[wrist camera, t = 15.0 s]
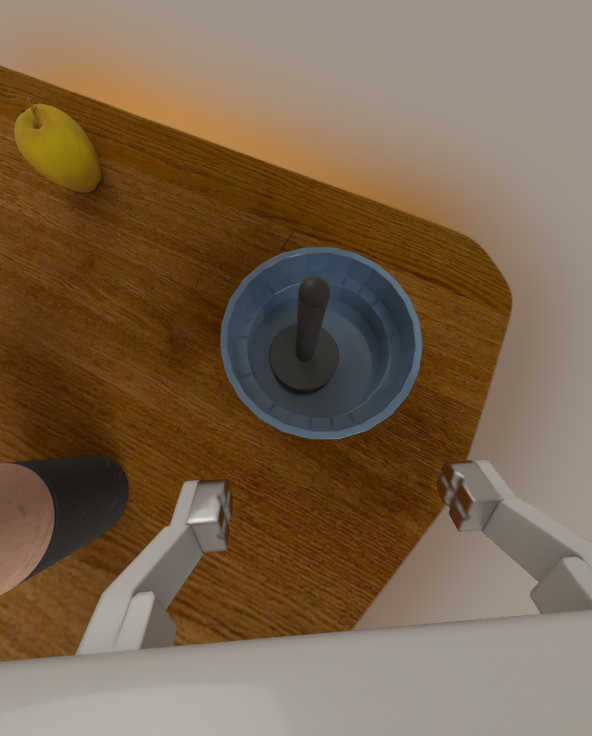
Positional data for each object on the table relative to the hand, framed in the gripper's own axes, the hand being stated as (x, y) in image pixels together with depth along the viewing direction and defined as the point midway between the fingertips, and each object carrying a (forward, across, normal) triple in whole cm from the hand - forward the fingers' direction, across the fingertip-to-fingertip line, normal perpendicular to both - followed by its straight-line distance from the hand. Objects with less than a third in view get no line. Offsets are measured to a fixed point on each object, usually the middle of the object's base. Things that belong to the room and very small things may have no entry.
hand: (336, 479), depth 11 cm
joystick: (+17, 0, +5) cm, 18 cm away
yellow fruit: (+35, +24, -11) cm, 43 cm away
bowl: (+18, -1, +5) cm, 19 cm away
